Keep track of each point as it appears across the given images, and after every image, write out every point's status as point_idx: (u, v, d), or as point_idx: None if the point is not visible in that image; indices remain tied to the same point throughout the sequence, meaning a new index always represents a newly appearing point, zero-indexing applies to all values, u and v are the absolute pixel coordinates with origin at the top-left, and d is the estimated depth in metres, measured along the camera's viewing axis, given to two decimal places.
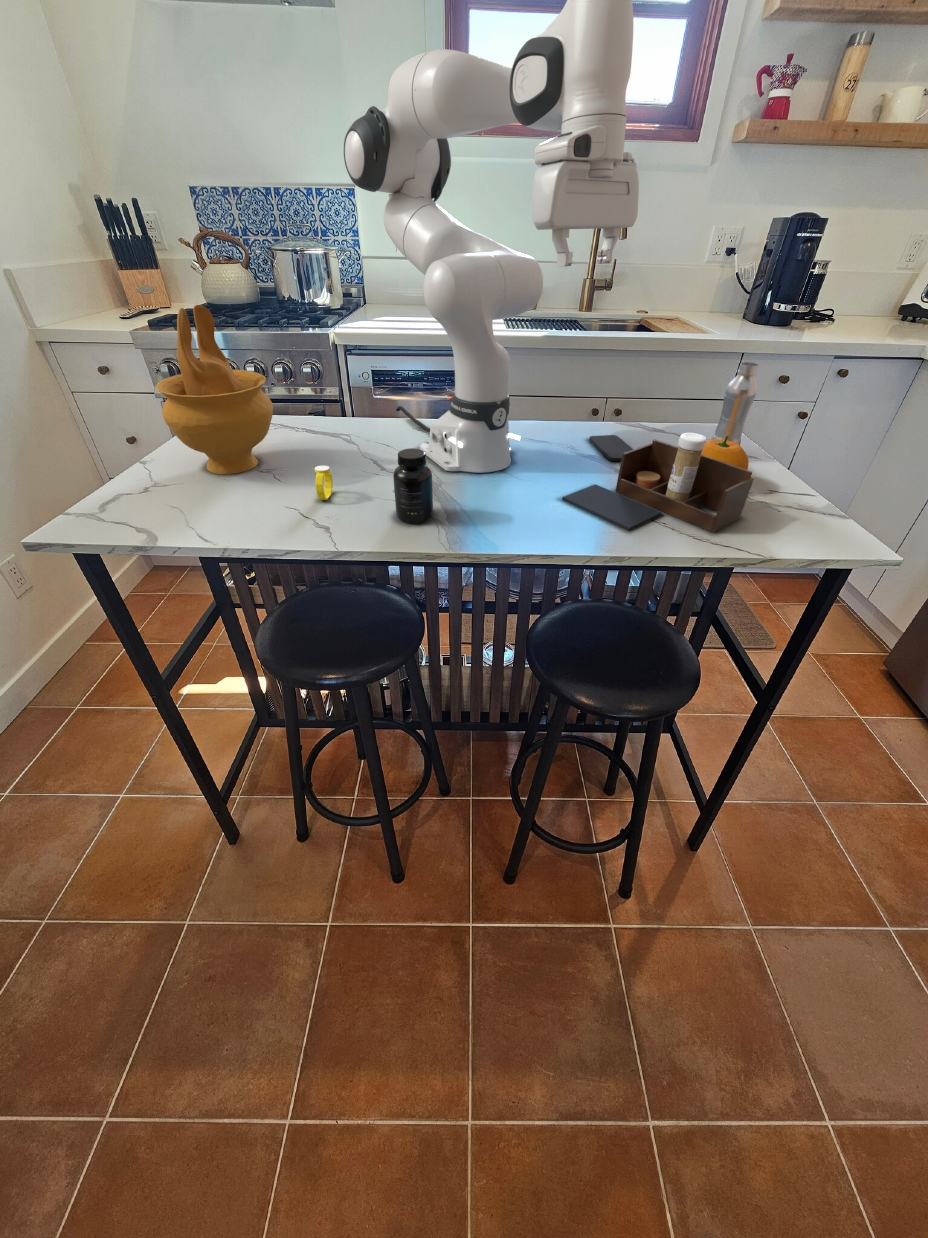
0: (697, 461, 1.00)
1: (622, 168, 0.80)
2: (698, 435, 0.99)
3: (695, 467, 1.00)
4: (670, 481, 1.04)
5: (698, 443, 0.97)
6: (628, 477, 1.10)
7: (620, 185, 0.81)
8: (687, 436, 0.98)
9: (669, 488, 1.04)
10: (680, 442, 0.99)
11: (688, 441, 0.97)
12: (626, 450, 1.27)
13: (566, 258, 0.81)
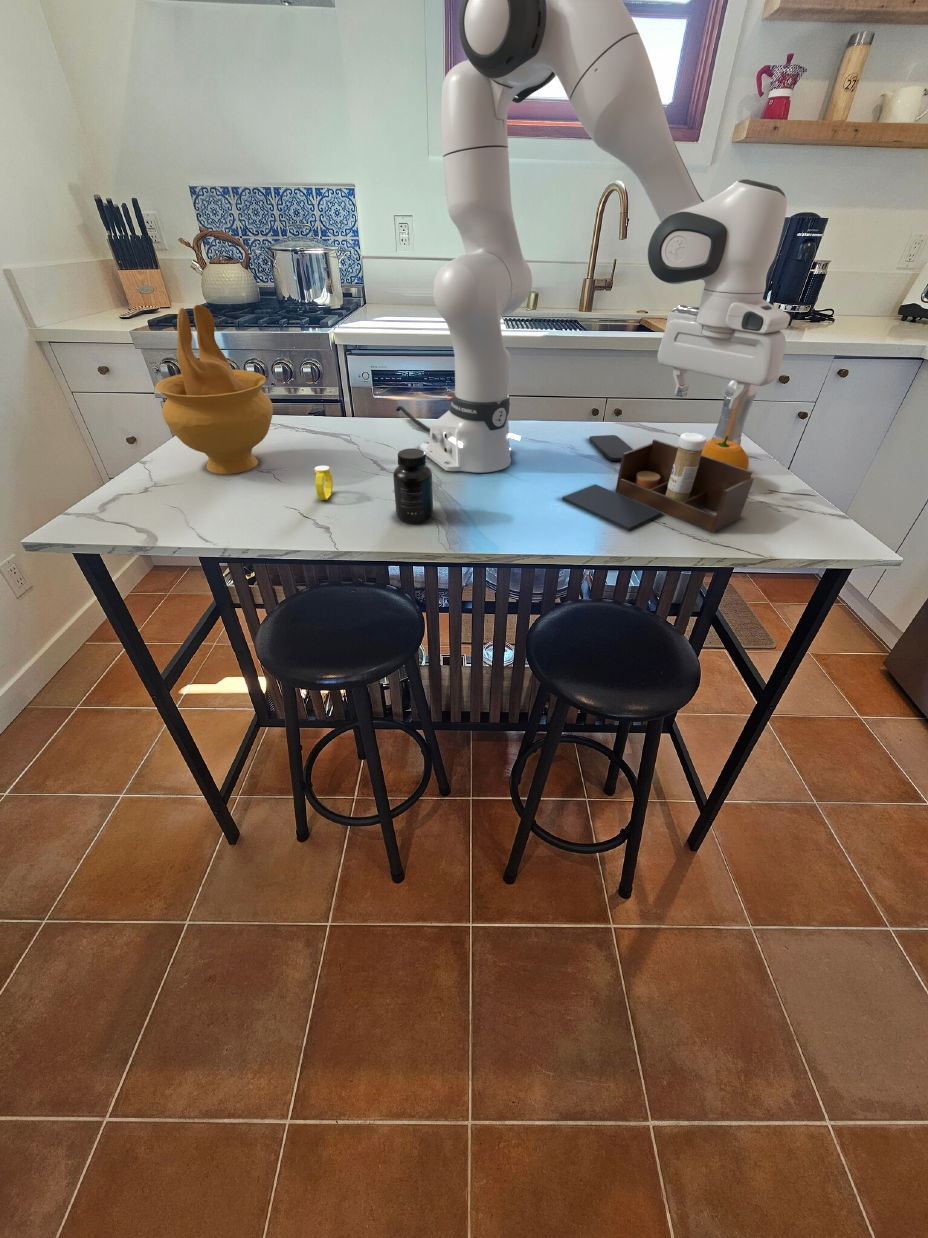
0: (697, 461, 1.00)
1: None
2: (698, 435, 0.99)
3: (695, 467, 1.00)
4: (670, 481, 1.04)
5: (698, 443, 0.97)
6: (628, 477, 1.10)
7: None
8: (687, 436, 0.98)
9: (669, 488, 1.04)
10: (680, 442, 0.99)
11: (688, 441, 0.97)
12: (626, 450, 1.27)
13: (737, 402, 0.92)
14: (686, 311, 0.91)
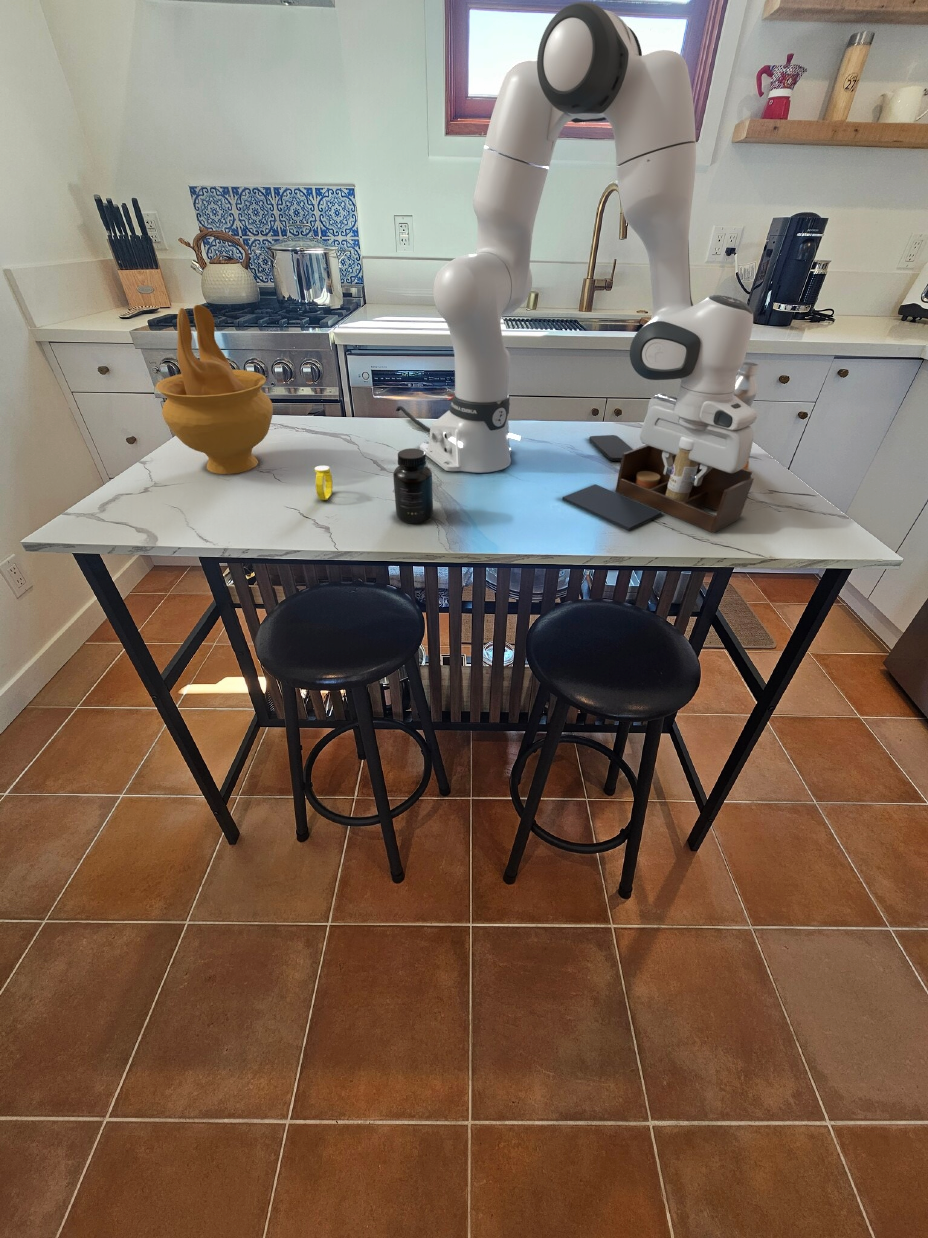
0: None
1: None
2: None
3: (695, 467, 1.00)
4: (670, 481, 1.04)
5: None
6: (628, 477, 1.10)
7: None
8: None
9: (669, 488, 1.04)
10: (680, 442, 0.99)
11: (688, 441, 0.97)
12: (626, 450, 1.27)
13: (701, 479, 1.01)
14: (665, 400, 1.00)
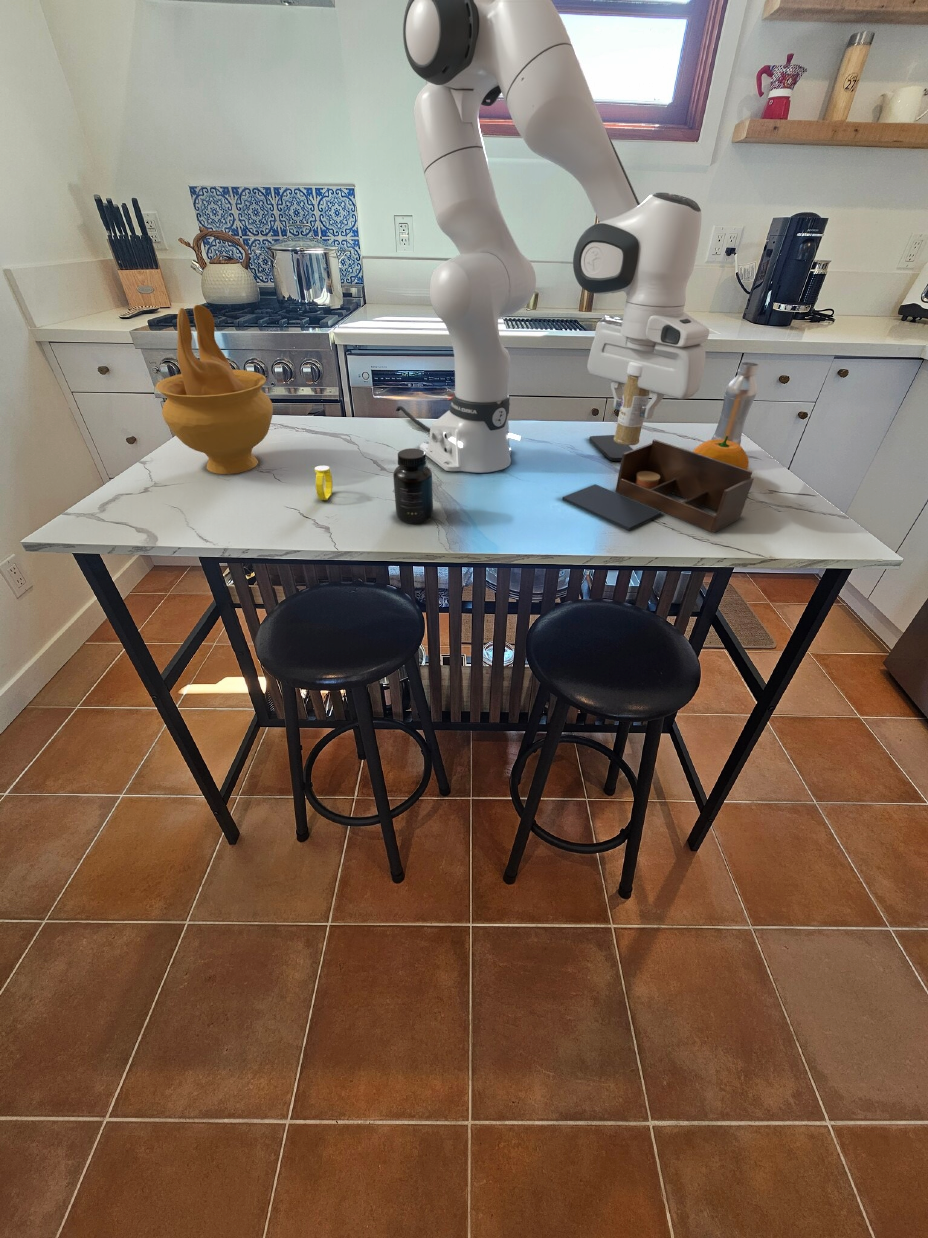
0: None
1: None
2: None
3: (645, 396, 0.91)
4: (619, 414, 0.95)
5: None
6: (628, 477, 1.10)
7: None
8: None
9: (619, 422, 0.95)
10: (628, 368, 0.90)
11: (636, 365, 0.89)
12: (626, 450, 1.27)
13: (653, 411, 0.93)
14: (612, 322, 0.91)
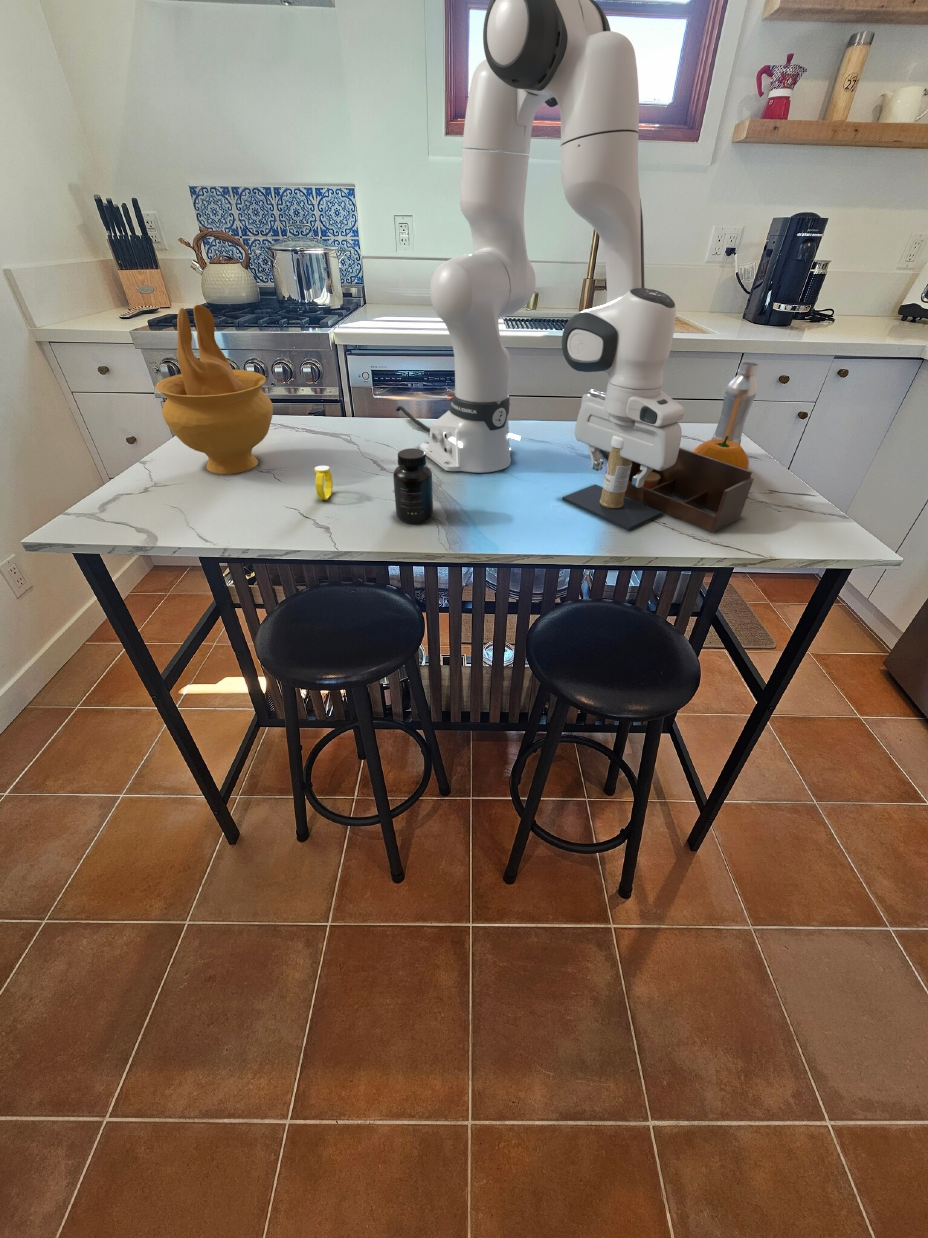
0: (629, 460, 0.98)
1: None
2: None
3: (628, 466, 0.99)
4: (604, 480, 1.02)
5: None
6: None
7: None
8: None
9: (604, 488, 1.02)
10: (611, 441, 0.97)
11: (619, 440, 0.96)
12: None
13: (643, 480, 0.98)
14: (597, 396, 0.98)
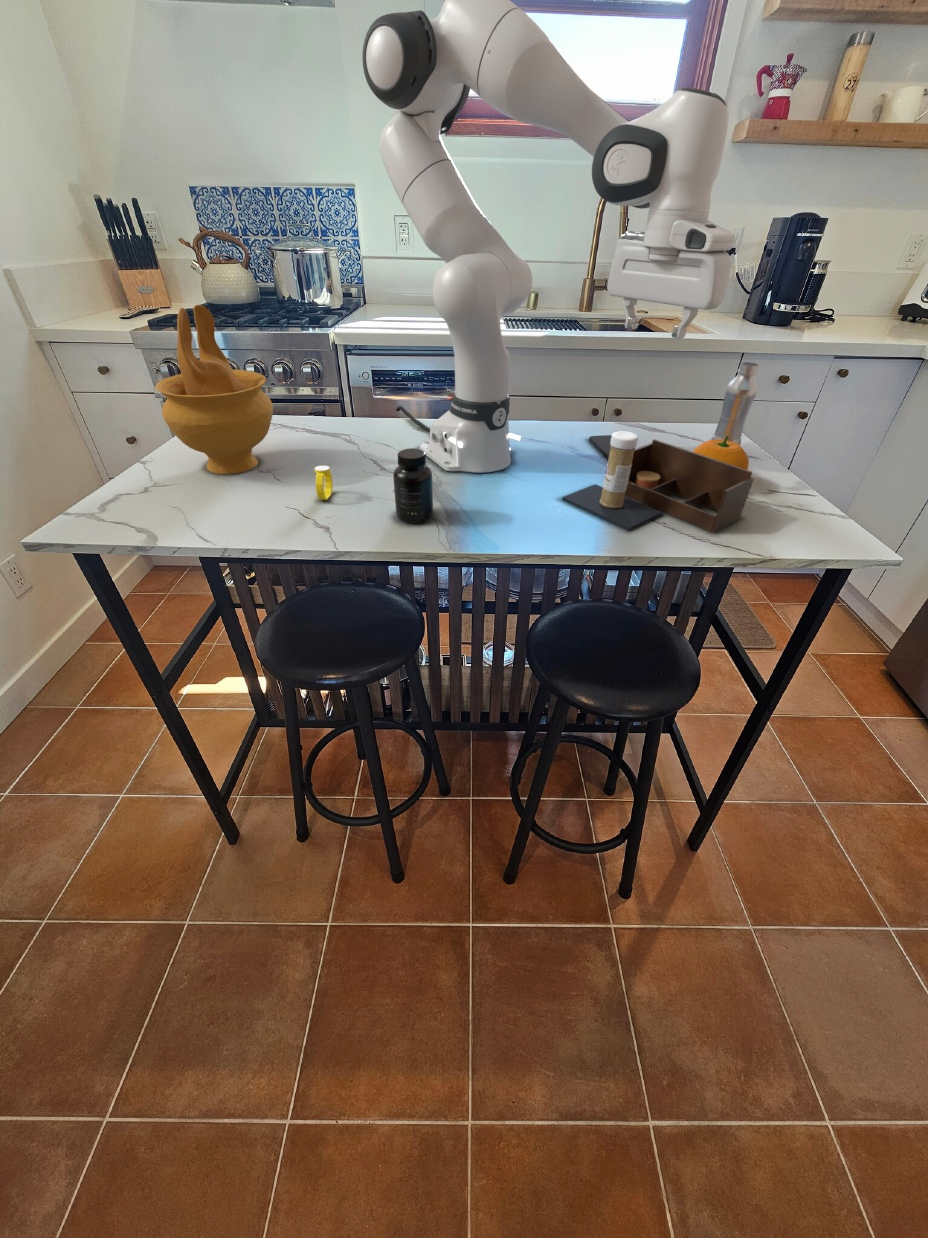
0: (629, 460, 0.98)
1: None
2: (630, 433, 0.97)
3: (628, 466, 0.99)
4: (604, 480, 1.02)
5: (628, 441, 0.95)
6: None
7: None
8: (618, 434, 0.97)
9: (604, 488, 1.02)
10: (611, 441, 0.97)
11: (619, 439, 0.96)
12: None
13: (685, 331, 0.90)
14: (634, 237, 0.89)
